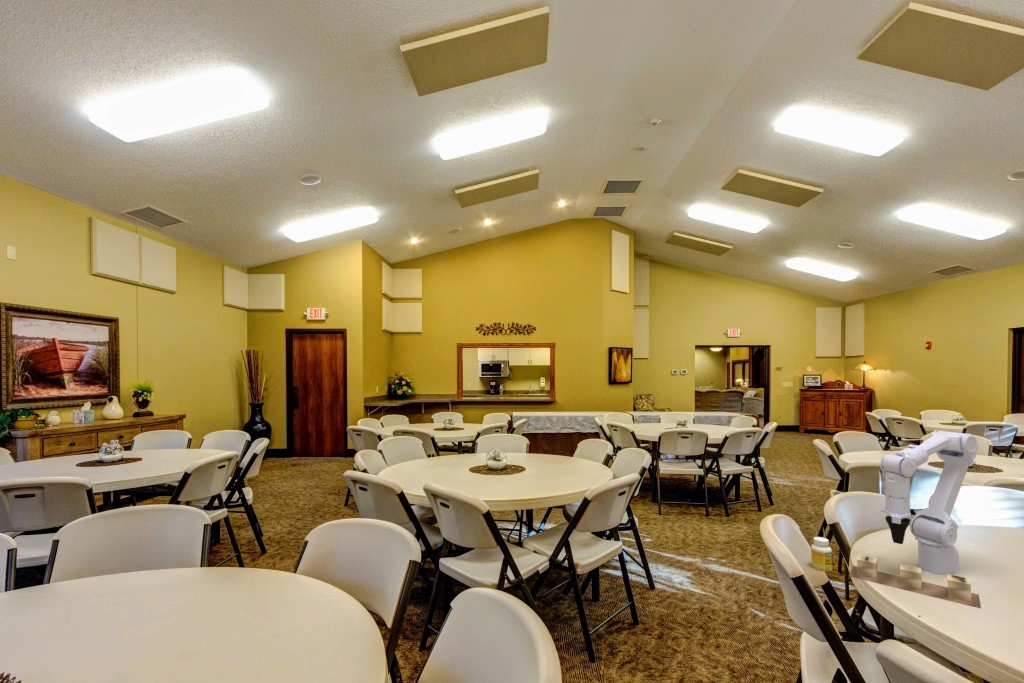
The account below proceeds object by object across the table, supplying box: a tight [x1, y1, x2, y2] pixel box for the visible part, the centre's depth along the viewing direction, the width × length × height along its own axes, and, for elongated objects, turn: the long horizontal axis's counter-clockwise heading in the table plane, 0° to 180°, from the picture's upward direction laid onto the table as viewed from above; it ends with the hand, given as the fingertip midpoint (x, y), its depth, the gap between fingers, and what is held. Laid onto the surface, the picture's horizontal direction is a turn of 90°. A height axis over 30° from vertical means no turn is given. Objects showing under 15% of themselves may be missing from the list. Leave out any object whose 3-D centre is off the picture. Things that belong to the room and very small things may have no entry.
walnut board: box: [848, 565, 982, 609], centre depth 137 cm, size 28×10×1 cm, turn 49°
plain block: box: [899, 563, 923, 590], centre depth 137 cm, size 4×4×4 cm
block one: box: [856, 554, 878, 579], centre depth 143 cm, size 4×4×5 cm
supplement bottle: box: [810, 536, 833, 572], centre depth 148 cm, size 5×5×10 cm
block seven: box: [946, 574, 972, 602], centre depth 130 cm, size 4×4×5 cm
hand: (898, 542), depth 143 cm, fingers closed
